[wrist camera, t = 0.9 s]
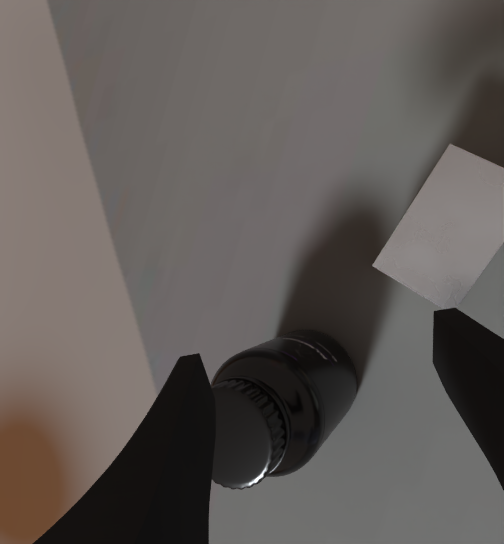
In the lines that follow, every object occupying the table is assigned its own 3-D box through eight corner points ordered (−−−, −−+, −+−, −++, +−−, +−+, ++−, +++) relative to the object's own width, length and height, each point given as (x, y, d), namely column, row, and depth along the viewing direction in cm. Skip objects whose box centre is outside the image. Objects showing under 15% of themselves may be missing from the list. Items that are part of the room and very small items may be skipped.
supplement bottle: (344, 318, 29) (277, 352, 18) (370, 417, 28) (318, 514, 18) (256, 337, 32) (154, 377, 21) (279, 428, 31) (185, 516, 20)
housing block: (523, 202, 24) (543, 185, 19) (452, 303, 26) (451, 314, 21) (451, 167, 26) (449, 143, 21) (388, 264, 28) (372, 265, 22)
